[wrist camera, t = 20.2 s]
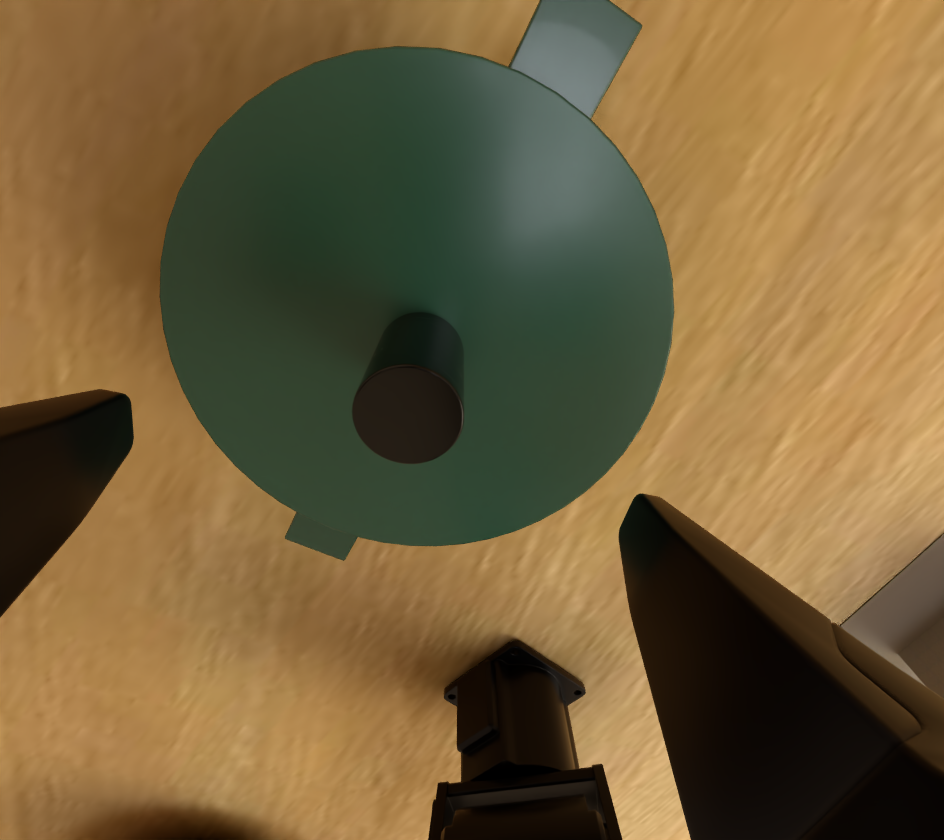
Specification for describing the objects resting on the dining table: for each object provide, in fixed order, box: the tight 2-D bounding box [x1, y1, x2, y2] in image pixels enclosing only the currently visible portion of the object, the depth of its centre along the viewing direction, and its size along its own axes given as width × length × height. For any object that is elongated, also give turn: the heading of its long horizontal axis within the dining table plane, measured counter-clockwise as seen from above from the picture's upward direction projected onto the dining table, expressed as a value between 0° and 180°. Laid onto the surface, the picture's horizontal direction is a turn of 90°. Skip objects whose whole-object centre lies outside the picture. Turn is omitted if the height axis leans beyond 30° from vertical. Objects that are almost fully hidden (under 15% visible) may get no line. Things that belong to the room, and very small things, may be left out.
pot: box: [285, 0, 642, 561], centre depth 18 cm, size 13×19×6 cm
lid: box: [160, 46, 674, 546], centre depth 13 cm, size 14×14×5 cm
